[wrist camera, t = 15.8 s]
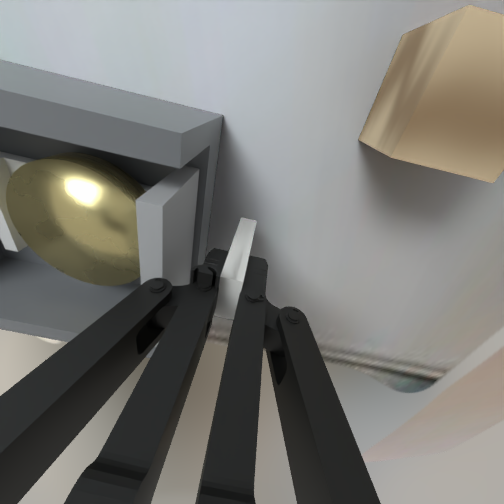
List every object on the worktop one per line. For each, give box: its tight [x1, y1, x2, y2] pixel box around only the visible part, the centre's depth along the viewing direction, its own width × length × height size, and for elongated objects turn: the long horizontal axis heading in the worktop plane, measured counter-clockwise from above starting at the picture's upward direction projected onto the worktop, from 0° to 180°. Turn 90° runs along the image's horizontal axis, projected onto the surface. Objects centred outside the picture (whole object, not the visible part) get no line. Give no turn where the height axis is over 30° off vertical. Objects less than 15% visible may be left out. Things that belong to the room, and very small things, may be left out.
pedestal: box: [358, 5, 504, 183], centre depth 12 cm, size 5×5×5 cm
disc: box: [6, 152, 146, 286], centre depth 14 cm, size 8×8×2 cm
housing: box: [0, 60, 223, 358], centre depth 15 cm, size 14×16×8 cm
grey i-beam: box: [0, 152, 199, 347], centre depth 13 cm, size 9×14×5 cm, turn 78°
